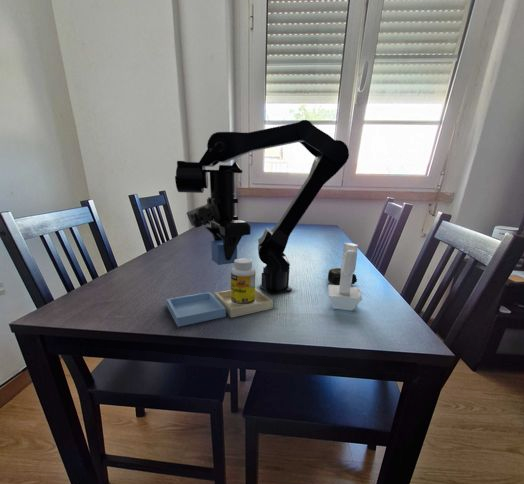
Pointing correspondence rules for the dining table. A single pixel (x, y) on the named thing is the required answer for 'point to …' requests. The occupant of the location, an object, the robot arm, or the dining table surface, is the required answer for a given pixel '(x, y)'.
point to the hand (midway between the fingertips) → (224, 257)
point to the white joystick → (346, 282)
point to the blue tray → (195, 308)
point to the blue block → (221, 253)
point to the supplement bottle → (242, 282)
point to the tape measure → (338, 276)
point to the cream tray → (235, 310)
